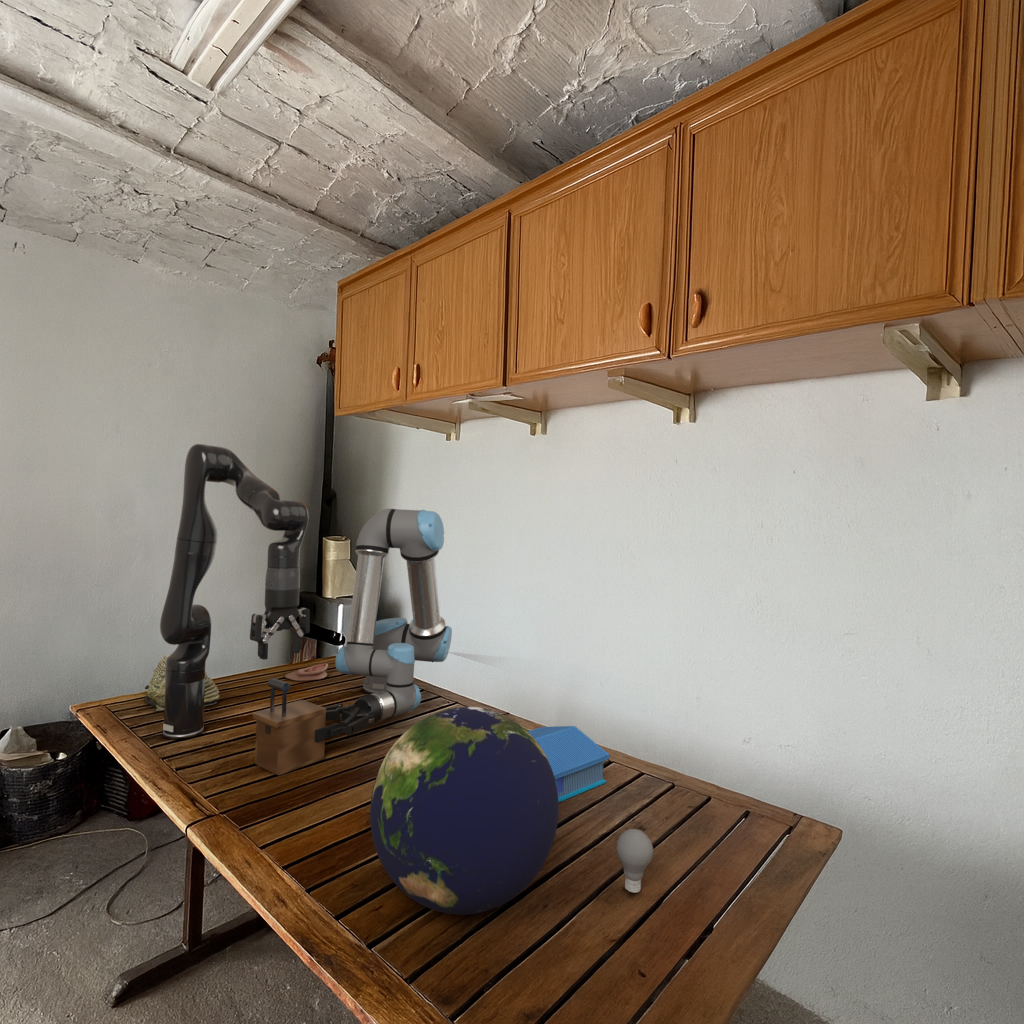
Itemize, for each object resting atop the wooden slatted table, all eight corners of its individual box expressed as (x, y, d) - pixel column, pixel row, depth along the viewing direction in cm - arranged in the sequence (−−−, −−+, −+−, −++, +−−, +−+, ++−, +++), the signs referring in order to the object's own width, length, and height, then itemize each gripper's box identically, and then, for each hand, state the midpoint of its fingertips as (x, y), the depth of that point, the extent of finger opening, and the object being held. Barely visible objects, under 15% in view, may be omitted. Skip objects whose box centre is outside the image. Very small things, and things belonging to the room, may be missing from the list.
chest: (278, 775, 143) (280, 727, 143) (254, 763, 148) (256, 717, 148) (324, 758, 153) (325, 713, 153) (300, 748, 158) (301, 704, 158)
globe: (325, 925, 94) (333, 724, 93) (426, 831, 121) (433, 676, 121) (512, 993, 82) (522, 765, 82) (577, 872, 110) (584, 701, 110)
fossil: (144, 707, 182) (145, 655, 182) (212, 696, 194) (213, 647, 194) (151, 716, 175) (153, 662, 175) (221, 703, 188) (223, 653, 188)
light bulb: (610, 879, 108) (613, 822, 108) (644, 879, 109) (647, 822, 109) (619, 902, 102) (622, 840, 102) (655, 901, 103) (658, 840, 103)
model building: (485, 844, 118) (488, 791, 117) (412, 795, 136) (414, 749, 136) (617, 787, 144) (619, 743, 144) (541, 752, 162) (543, 713, 162)
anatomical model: (280, 667, 215) (298, 659, 227) (279, 678, 215) (297, 670, 227) (316, 671, 213) (332, 662, 224) (315, 682, 213) (332, 673, 224)
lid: (276, 728, 142) (278, 687, 142) (252, 718, 147) (253, 679, 147) (325, 713, 153) (327, 675, 152) (301, 704, 158) (303, 668, 158)
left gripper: (264, 590, 139) (261, 664, 139) (318, 585, 150) (315, 653, 151) (245, 587, 143) (242, 658, 144) (299, 582, 155) (296, 648, 155)
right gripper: (401, 732, 165) (331, 758, 147) (345, 712, 178) (275, 734, 160) (402, 703, 165) (332, 726, 147) (346, 686, 178) (276, 704, 160)
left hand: (280, 655), depth 147 cm, fingers open, 8 cm apart
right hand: (302, 730), depth 153 cm, fingers closed on chest, 9 cm apart
